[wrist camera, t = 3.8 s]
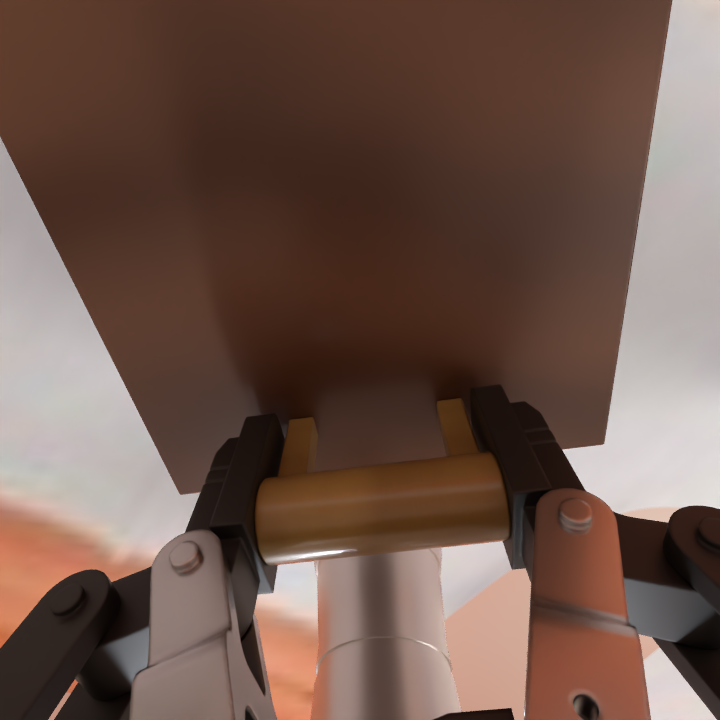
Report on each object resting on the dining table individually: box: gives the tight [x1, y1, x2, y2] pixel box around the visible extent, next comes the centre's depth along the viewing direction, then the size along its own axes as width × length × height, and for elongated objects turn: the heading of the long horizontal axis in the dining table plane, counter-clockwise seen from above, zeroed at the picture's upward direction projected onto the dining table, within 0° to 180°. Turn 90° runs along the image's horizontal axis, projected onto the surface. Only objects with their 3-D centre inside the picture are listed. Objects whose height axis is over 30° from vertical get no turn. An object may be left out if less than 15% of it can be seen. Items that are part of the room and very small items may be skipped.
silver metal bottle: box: [311, 548, 461, 720], centre depth 17 cm, size 6×7×20 cm
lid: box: [0, 0, 672, 565], centre depth 8 cm, size 15×13×5 cm
